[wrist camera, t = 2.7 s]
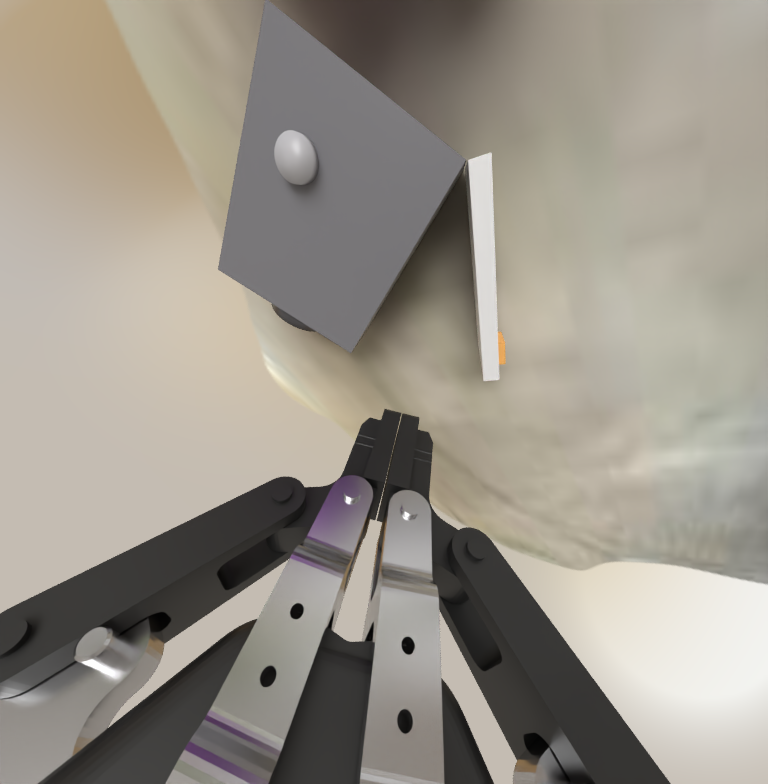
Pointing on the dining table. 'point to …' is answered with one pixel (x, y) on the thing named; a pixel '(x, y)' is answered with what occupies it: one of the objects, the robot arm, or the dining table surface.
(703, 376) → the dining table surface
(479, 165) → the side door
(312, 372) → the dining table surface
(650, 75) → the dining table surface
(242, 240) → the camera case
